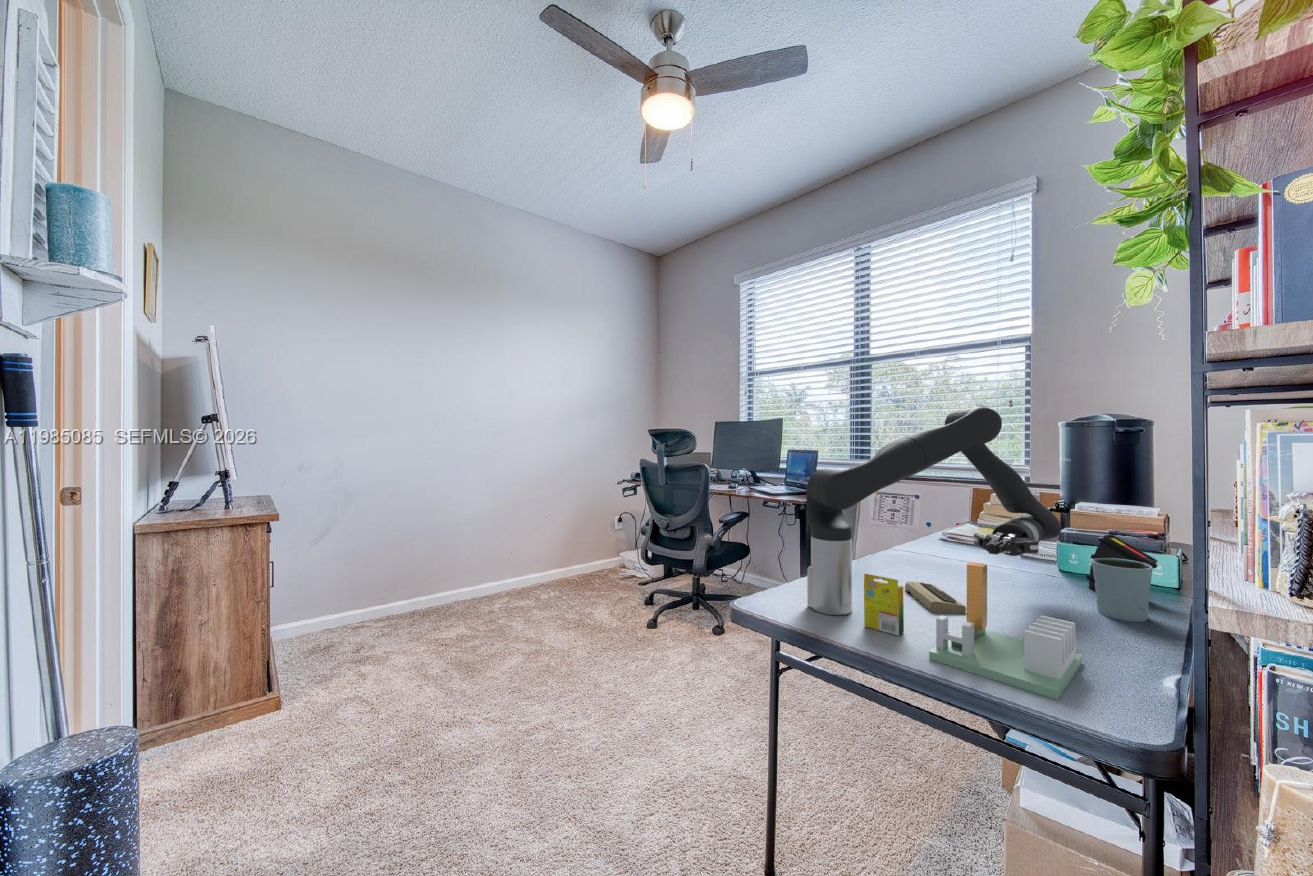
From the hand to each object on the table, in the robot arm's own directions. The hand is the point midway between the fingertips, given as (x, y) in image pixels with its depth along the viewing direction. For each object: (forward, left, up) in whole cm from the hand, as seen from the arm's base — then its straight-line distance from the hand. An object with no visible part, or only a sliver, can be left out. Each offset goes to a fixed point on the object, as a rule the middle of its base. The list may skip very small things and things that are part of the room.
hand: (992, 549), depth 108 cm
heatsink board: (+6, -16, -17) cm, 24 cm away
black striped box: (+15, +49, -17) cm, 54 cm away
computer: (-15, +9, -18) cm, 25 cm away
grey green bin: (+17, +31, -17) cm, 39 cm away
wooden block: (0, -14, -15) cm, 21 cm away
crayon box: (-15, -18, -17) cm, 29 cm away
